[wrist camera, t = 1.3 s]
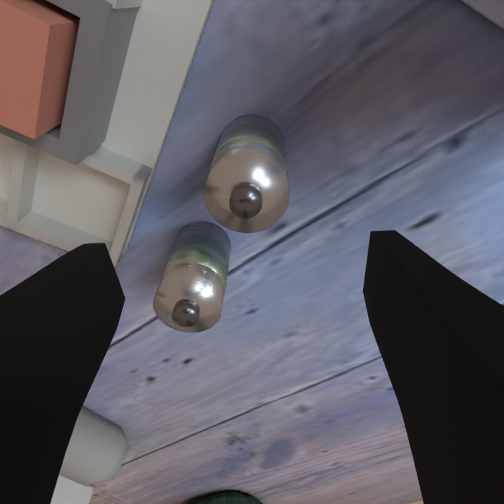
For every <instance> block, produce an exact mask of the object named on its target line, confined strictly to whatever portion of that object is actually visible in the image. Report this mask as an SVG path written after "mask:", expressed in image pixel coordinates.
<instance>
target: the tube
mask: <svg viewBox="0 0 504 504" xmlns="http://www.w3.org/2000/svg"><path fill="white" fill-rule="evenodd" d="M129 449H130V447H129V444H128V442H127V439H126V437H125V435H124V432H123V430H122V428H121V427H120V426H118V425H117V424H115V423H113V422H111V421H109V420H108V419H106V418H104V417H102V416H100V415H99V414H97V413H95V412H93V411H91V410H90V409H88V408H86V407H84V406H82V408H81V411H80V413H79V416H78V418H77V421H76V424H75V427H74V430H73V433H72V436H71V439H70V442H69V445H68V448H67V451H66V454H65V457H64V460H63V463H62V467H61V470H60V473H59V475H60V476H63V477H65V478H67V479H70V480H72V481H74V482H76V483H79V484H81V485H83V486H89V485H92V484H96V483H99V482H103V481H108V480H113V479H114V477H115V475H116V473H117V471H118V470H119V468H120V466H121V464H122V462H123V460H124V458H125V456H126V455H127V453H128V451H129Z"/></svg>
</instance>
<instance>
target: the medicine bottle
mask: <svg viewBox="0 0 504 504" xmlns="http://www.w3.org/2000/svg"><path fill="white" fill-rule="evenodd" d="M93 491H94V487H93V486H91V485H89V486H83V485H81V484H79V483H76V482H74V481H72V480H70V479H67V478H65V477H63V476H60V475H59V477H58V480H57V483H56V487H55V490H54V493H53V497H52V500H51V504H89V502H90V499H91V496H92V494H93Z"/></svg>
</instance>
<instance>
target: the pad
mask: <svg viewBox="0 0 504 504" xmlns="http://www.w3.org/2000/svg"><path fill="white" fill-rule="evenodd" d="M79 23H80V17H78V16H76V15H74V14H72V13H70V12H68V11H66V10H64V9H62V8H60V7H59V6H57V5H55V4H53V3H51V2H49V1H47V0H0V125H2V126H4V127H7V128H9V129H11V130H14V131H16V132H18V133H21V134H23V135H25V136H27V137H30V138H32V139H36V138H38V137H39V136H41V135H43V134H44V133H46V132H48V131H49V130H51V129H52V128H54V127H56V126H57V125H59V124H61V123H62V120H63V114H64V108H65V102H66V97H67V91H68V85H69V80H70V74H71V68H72V63H73V57H74V51H75V46H76V40H77V34H78V29H79Z"/></svg>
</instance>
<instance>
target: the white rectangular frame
mask: <svg viewBox="0 0 504 504" xmlns="http://www.w3.org/2000/svg"><path fill="white" fill-rule="evenodd" d="M47 1H49V2H51V3H53V4H55V5H57V6H59V7H60V8H62V9H64V10H66V11H68V12H70V13H72V14H74V15H76V16H78V17H80V23H79V29H78V34H77V40H76V46H75V51H74V57H73V63H72V68H71V74H70V80H69V85H68V91H67V97H66V102H65V108H64V114H63V120H62V123H61V124H59V125H57V126H56V127H54V128H52V129H51V130H49V131H48V132H46V133H44V134H43V135H41V136H39V137H38V138H36V139H32V138H30V137H27V136H25V135H23V134H21V133H18V132H16V131H14V130H11V129H9V128H7V127H4V126H2V125H0V226H2V227H5V228H8V229H10V230H13V231H16V232H18V233H21V234H24V235H26V236H29V237H32V238H34V239H37V240H40V241H42V242H45V243H48V244H50V245H53V246H56V247H59V248H61V249H64V250H67V251H71V250H73V249H75V248H76V247H78V246H80V245H82V244H85V243H106V246H107V249H108V252H109V255H110V257H111V260H112V263H113V266H114V268H115V267H116V266H117V264H118V262H119V260H120V259H121V257H122V255H124V254H125V252H126V250H127V248H128V246H129V243H130V240H131V238H132V235H133V232H134V229H135V226H136V223H137V220H138V217H139V215H140V212H141V209H142V206H143V203H144V200H145V197H146V194H147V192H148V189H149V186H150V183H151V180H152V177H153V174H154V172H155V169H156V166H157V163H158V160H159V157H160V154H161V151H162V149H163V146H164V143H165V140H166V137H167V134H168V131H169V128H170V126H171V123H172V120H173V117H174V114H175V111H176V108H177V105H178V103H179V100H180V97H181V94H182V91H183V88H184V85H185V83H186V80H187V77H188V74H189V71H190V68H191V65H192V62H193V60H194V57H195V54H196V51H197V48H198V45H199V42H200V39H201V37H202V34H203V31H204V28H205V25H206V22H207V19H208V17H209V14H210V11H211V8H212V5H213V2H214V0H47Z"/></svg>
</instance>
